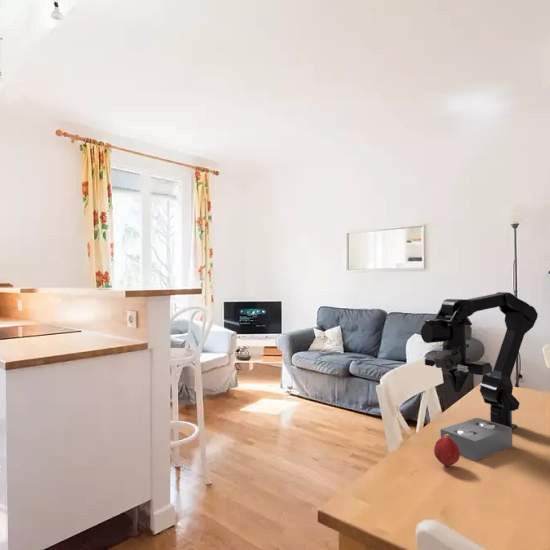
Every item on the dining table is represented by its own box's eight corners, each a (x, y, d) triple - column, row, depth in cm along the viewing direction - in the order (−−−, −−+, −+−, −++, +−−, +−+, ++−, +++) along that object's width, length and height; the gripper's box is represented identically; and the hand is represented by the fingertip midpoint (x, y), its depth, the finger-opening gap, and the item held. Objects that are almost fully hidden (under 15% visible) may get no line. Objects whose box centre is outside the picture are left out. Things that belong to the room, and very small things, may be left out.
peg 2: (484, 437, 115) (484, 420, 115) (498, 441, 112) (497, 424, 112) (476, 440, 113) (475, 423, 113) (490, 444, 110) (489, 427, 110)
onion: (433, 469, 97) (432, 436, 97) (435, 459, 102) (435, 428, 102) (459, 474, 94) (458, 440, 95) (460, 464, 100) (460, 431, 100)
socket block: (477, 434, 118) (477, 417, 118) (512, 446, 110) (511, 427, 110) (440, 447, 110) (440, 429, 110) (475, 461, 101) (475, 441, 101)
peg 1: (463, 444, 110) (462, 427, 110) (477, 449, 106) (476, 432, 107) (454, 448, 108) (453, 430, 108) (468, 453, 104) (467, 435, 104)
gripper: (412, 340, 124) (414, 390, 124) (470, 347, 109) (472, 405, 109) (434, 336, 131) (436, 384, 130) (492, 343, 115) (494, 397, 115)
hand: (457, 392), depth 121 cm, fingers closed
